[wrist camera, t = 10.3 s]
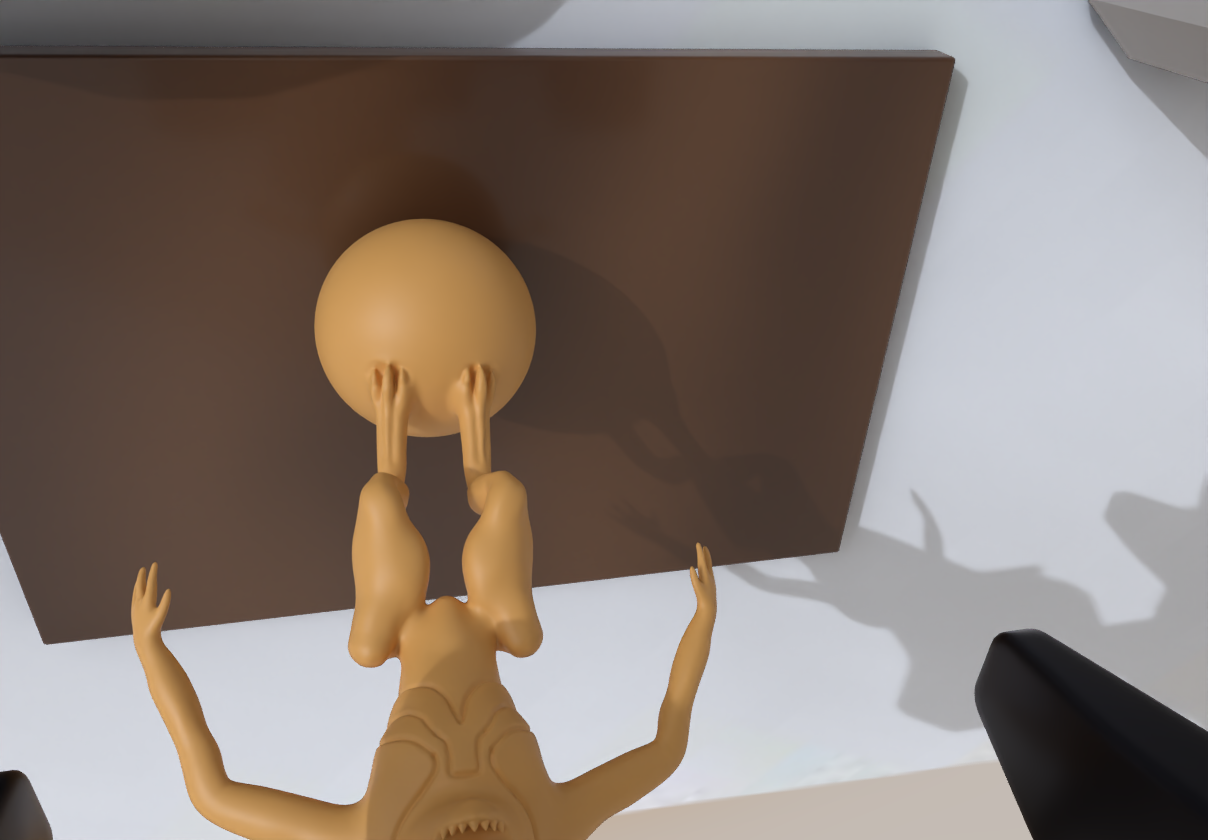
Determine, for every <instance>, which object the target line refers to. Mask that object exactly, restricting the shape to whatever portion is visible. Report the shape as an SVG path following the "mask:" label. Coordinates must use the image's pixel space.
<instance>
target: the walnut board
mask: <svg viewBox="0 0 1208 840" xmlns="http://www.w3.org/2000/svg"><path fill="white" fill-rule="evenodd" d="M954 64H955V58H954V57H952V56H949V55H947V54H944V53H942V52H939V51H937V50H809V49H598V48H387V47H176V46H0V534H1V537H2V539H3V542H4V544H5V547H6V549H7V552H8V554H9V557H10V560H11V562H12V565H13V567H14V570H15V572H16V575H17V577H18V580H19V582H20V585H21V588H22V590H23V593H24V595H25V598H26V600H27V603H28V605H29V608H30V610H31V613H32V616H33V618H34V621H35V623H36V626H37V628H38V631H39V633H40V636H41V638H42V641H43V643H44V644H47V645H48V644H56V643H65V642H73V641H82V640H90V639H99V638H107V637H116V636H124V635H133V627H132V619H131V607H132V597H133V591H134V586H135V583H136V581H137V576H138V573H139V571H140V569H141V568H142V567H145V568H146V587H147V581H148V576H149V572H150V569H151V566H152V564H153V563H154V562H156V563H157V564H158V570H157V602H156V607H158V606H159V604H160V602H161V600H162V597H163V595H164V593H165V591H166V590H167V589H170V591H171V601H170V605H169V609H168V612H167V615H166V617H165V620H164V622H163V625H162V627H161V631H167V630H176V629H184V628H193V627H201V626H210V625H218V624H227V623H235V622H244V621H252V620H261V619H269V618H278V617H286V616H295V615H304V614H312V613H321V612H329V611H338V610H346V609H355V602H356V589H355V580H354V574H353V565H352V542H353V535H354V530H355V525H356V519H357V513H358V507H359V499H360V494H361V491H362V489H363V487H364V486H365V485H366V483H367V482H368V481H369V480H370V479H371V478H372V476H373V475H375V474H376V473H378V467H377V427H376V425H375V424H373V423H372V422H370V421H368V420H367V419H365V418H364V417H362V416H361V415H359V414H358V413H357V412H355V411H354V410H353V409H352V408H351V407H350V406H349V405H348V404H347V403H346V402H345V401H344V400H343V399H342V398H341V397H340V396H339V394H338V393H337V392H336V390H335V389H334V388H333V386H332V384H331V383H330V381H329V379H328V378H327V376H326V374H325V372H324V369H323V367H322V364H321V362H320V359H319V355H318V351H317V347H316V341H315V329H314V323H315V311H316V305H317V301H318V297H319V293H320V290H321V288H322V285H323V283H324V281H325V279H326V277H327V275H328V273H329V271H330V270H331V268H332V267H333V265H334V264H335V262H336V261H337V260H338V258H339V257H340V256H341V255H342V254H343V253H344V252H345V251H346V250H347V249H348V248H349V247H350V246H351V245H352V244H353V243H355V242H356V241H357V240H359V239H360V238H362V237H363V236H365V235H366V234H368V233H370V232H372V231H373V230H376V229H378V228H380V227H382V226H385V225H388V224H391V223H395V222H399V221H404V220H411V219H436V220H443V221H448V222H452V223H455V224H458V225H461V226H464V227H467V228H469V229H471V230H473V231H475V232H477V233H479V234H481V235H482V236H484V237H485V238H487V239H488V240H490V241H491V242H492V243H494V244H495V245H496V246H497V247H498V248H500V249H501V250H502V251H503V252H504V253H505V254H506V255H507V257H508V258H509V259H510V260H511V261H512V263H513V264H514V265H515V267H516V268H517V269H518V271H519V273H520V274H521V276H522V278H523V280H524V282H525V284H526V286H527V288H528V291H529V293H530V296H531V300H532V303H533V307H534V313H535V321H536V339H535V347H534V352H533V357H532V360H531V363H530V366H529V369H528V371H527V374H526V376H525V378H524V380H523V382H522V384H521V385H520V387H519V388H518V390H517V391H516V393H515V394H514V395H513V397H512V398H511V399H510V400H509V401H508V402H507V404H506V405H505V406H504V407H502V408H501V409H500V410H499V411H498V412H497V413H496V414H494V415H493V416H492V417H490V442H491V473H493V472H496V471H507V472H509V473H510V474H512V475H513V476H514V477H515V478H516V479H518V480H519V481H520V482H521V483H522V484H523V486H524V487H525V490H526V493H527V508H528V516H529V521H530V526H531V531H532V538H533V564H532V588H534V587H542V586H551V585H560V584H568V583H577V582H585V581H594V580H602V579H611V578H619V577H628V576H636V575H645V574H653V573H662V572H670V571H679V570H688V569H690V568H691V566H693V567H694V569H696V568H698V560H697V549H696V544H697V543H700V545H701V547H702V550H703V547H704V546H706V547H707V548H708V550H709V553H710V556H711V561H712V567H713V566H722V565H730V564H739V563H747V562H756V561H764V560H773V559H781V558H790V557H798V556H807V555H816V554H824V553H833V552H838V551H839V548H840V544H841V539H842V535H843V531H844V527H845V523H846V518H847V514H848V510H849V506H850V502H851V497H852V493H853V489H854V485H855V481H856V476H857V472H858V468H859V464H860V460H861V455H862V451H863V447H864V443H865V438H866V434H867V430H868V426H869V422H870V417H871V413H872V409H873V405H874V401H875V396H876V392H877V388H878V384H879V380H880V375H881V371H882V367H883V363H884V359H885V354H886V350H887V346H888V342H889V338H890V333H891V329H892V325H893V321H894V316H895V312H896V308H897V304H898V300H899V295H900V291H901V287H902V283H903V279H904V274H905V270H906V266H907V262H908V258H909V253H910V249H911V245H912V241H913V237H914V232H915V228H916V224H917V220H918V215H919V211H920V207H921V203H922V199H923V194H924V190H925V186H926V182H927V178H928V173H929V169H930V165H931V161H932V157H933V152H934V148H935V144H936V140H937V136H938V131H939V127H940V123H941V119H942V115H943V110H944V106H945V102H946V98H947V93H948V89H949V85H950V81H951V77H952V72H953V68H954ZM406 459H407V465H406V475H405V482H404V483H405V484H406V485H407V487H408V489H409V500H408V504H407V507H406V512H407V515H408V517H409V519H410V521H411V522H412V524H413V525H414V526H415V528H416V529H417V530H418V531H419V533H420V534H421V536H422V537H423V539H424V541H425V544H426V546H427V549H428V553H429V558H430V575H429V583H428V588H427V592H426V598H425V600H432V599H438V598H440V597H442V596H452V597H457V596H466V595H468V593H467V589H466V585H465V581H464V576H463V570H462V554H463V548H464V545H465V542H466V539H467V537H468V535H469V533H470V532H471V530H472V529H473V527H474V526H475V525H476V523H477V522H478V520H479V519H480V517H481V515H479V514H477V513H475V512H474V511H473V510H472V509H471V507H470V506H469V503H468V497H467V489H468V487H467V484H466V478H465V473H464V466H463V452H462V442H461V434H460V432H459V433H456V434H451V435H446V436H439V437H415V436H408V435H407V450H406Z"/></svg>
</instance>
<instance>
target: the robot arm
mask: <svg viewBox="0 0 1208 840" xmlns="http://www.w3.org/2000/svg"><path fill="white" fill-rule="evenodd" d="M975 702H976V707H977V710H978V713H979V715H980V717H981V720H982V722H983V724H984V727H985V729H986V731H987V734H988V736H989V738H990V741H991V743H992V745H993V748H994V750H995V752H996V755H997V757H998V759H999V762H1000V764H1001V766H1002V769H1003V771H1004V773H1005V776H1006V778H1007V780H1008V783H1009V785H1010V787H1011V790H1012V792H1013V794H1014V796H1015V799H1016V801H1017V804H1018V806H1019V808H1020V811H1021V813H1022V815H1023V818H1024V820H1025V822H1026V825H1027V827H1028V829H1029V831H1030V833H1031V836H1032V838H1033V840H1208V731H1206V730H1204V729H1203V728H1201V727H1199V726H1198V725H1196V724H1195V723H1193V722H1191V721H1190V720H1188V719H1186V718H1185V717H1183V716H1181V715H1180V714H1178V713H1176V712H1175V711H1173V710H1171V709H1170V708H1168V707H1167V706H1165V705H1163V704H1162V703H1160V702H1158V701H1157V700H1155V699H1153V698H1152V697H1150V696H1148V695H1147V694H1145V693H1143V692H1142V691H1140V690H1139V689H1137V688H1135V687H1134V686H1132V685H1130V684H1129V683H1127V682H1125V681H1124V680H1122V679H1120V678H1119V677H1117V676H1115V675H1114V674H1112V673H1111V672H1109V671H1107V670H1106V669H1104V668H1102V667H1101V666H1099V665H1097V664H1096V663H1094V662H1092V661H1091V660H1089V659H1087V658H1086V657H1084V656H1083V655H1081V654H1079V653H1078V652H1076V651H1074V650H1073V649H1071V648H1069V647H1068V646H1066V645H1064V644H1063V643H1061V642H1059V641H1058V640H1056V639H1055V638H1053V637H1051V636H1050V635H1048V634H1046V633H1044V632H1042V631H1040V630H1037V629H1023V630H1016V631H1009V632H1003V633H1000V634H999V635H997V636H996V637H995V638H994V639H993V641H992V643H991V646H990V648H989V651H988V653H987V656H986V659H985V661H984V664H983V666H982V669H981V671H980V674H979V677H978V679H977V682H976V685H975ZM0 840H53V835H52V830H51V827H50V824H49V822H48V820H47V818H46V815H45V813H44V811H43V809H42V807H41V805H40V803H39V800H38V798H37V796H36V794H35V792H34V790H33V787H32V785H31V783H30V781H29V779H28V778H27V776H26V775H25V774H23V773H22V772H20V771H18V770H10V771H3V772H0Z"/></svg>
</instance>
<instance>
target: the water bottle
mask: <svg viewBox="0 0 1208 840" xmlns="http://www.w3.org/2000/svg"><path fill="white" fill-rule="evenodd" d="M1088 1H1089V2H1090V3H1091V5H1092V6H1093V8H1094V9H1095V11H1096V12H1097V14H1098V15H1099V16H1100V18H1101V19H1102V21H1103V22H1104V24H1105V25H1106V27H1107V28H1108V29H1109V31H1110V32H1111V34H1112V35H1113V37H1114V38H1115V40H1116V41H1117V43H1118V44H1119V45H1120V47H1121V48H1122V50H1123V51H1124V53H1125V54H1126V56H1127V57H1128V58H1129V59H1132V60H1135V61H1139V62H1142V63H1145V64H1148V65H1151V66H1155V67H1158V68H1161V69H1164V70H1167V71H1171V72H1174V73H1177V74H1180V75H1183V76H1187V77H1190V78H1193V79H1196V80H1199V81H1203V82H1206V83H1208V0H1088Z"/></svg>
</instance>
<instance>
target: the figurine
mask: <svg viewBox="0 0 1208 840" xmlns="http://www.w3.org/2000/svg"><path fill="white" fill-rule="evenodd" d="M314 329H315V341H316V347H317V351H318V355H319V359H320V362H321V364H322V367H323V369H324V372H325V374H326V376H327V378H328V379H329V381H330V383H331V384H332V386H333V388H334V389H335V390H336V392H337V393H338V394H339V396H340V397H341V398H342V399H343V400H344V401H345V402H346V403H347V404H348V405H349V406H350V407H351V408H352V409H353V410H354V411H355V412H357V413H358V414H359V415H361V416H362V417H364V418H365V419H367V420H368V421H370V422H372V423H373V424H375V425H376V427H377V467H378V473H376V474H375V475H373V476H372V478H371V479H370V480H369V481H368V482H367V483H366V485H365V486H364V487H363V489H362V491H361V494H360V499H359V507H358V513H357V519H356V525H355V530H354V535H353V542H352V565H353V574H354V580H355V589H356V602H355V611H354V616H353V621H352V626H351V632H350V637H349V642H348V650H349V654H350V656H351V657H352V659H353V660H354V661H355V662H356V663H358V664H359V665H361V666H363V667H369V668H372V667H378V666H380V665H382V664H383V663H384V662H385V661H386V660H387V659H389V658H393V657H397V658H398V659H399V660H400V662H401V678H400V685H399V697H398V698H397V700H396V702H395V704H394V706H393V708H392V711H391V714H390V717H389V721H388V725H387V730H386V732H385V733H384V735H383V737H382V739H381V741H380V746H379V747H378V748H377V750H376V753H375V756H374V760H373V765H372V770H371V775H370V779H369V784H368V788H367V791H366V793H365V795H364V797H363V798H362V799H361V800H360V801H358V802H357V803H354V804H350V805H338V804H332V803H328V802H324V801H320V800H317V799H313V798H309V797H305V796H301V795H297V794H293V793H289V792H285V791H280V790H276V789H272V788H268V787H263V786H258V785H251V784H245V783H239V782H234V781H232V780H230V779H229V778H228V777H227V775H226V772H225V769H224V765H223V761H222V756H221V753H220V750H219V747H218V745H217V743H216V741H215V739H214V738H213V736H212V734H211V733H210V731H209V729H208V727H207V724H206V721H205V718H204V715H203V711H202V708H201V705H200V702H199V699H198V697H197V695H196V692H195V690H194V688H193V686H192V684H191V682H190V680H189V678H188V676H187V674H186V673H185V671H184V670H183V668H182V667H181V665H180V664H179V663H178V661H177V660H176V658H175V657H174V656H173V654H172V653H171V652H170V651H169V650H168V648H167V647H166V646H165V645H164V643H163V641H162V638H161V627H162V625H163V622H164V620H165V617H166V615H167V612H168V609H169V605H170V601H171V591H170V589H167V590H166V591H165V593H164V595H163V597H162V600H161V602H160V604H159V606H158V607H156V602H157V570H158V564H157V563H156V562H154V563H153V564H152V566H151V569H150V572H149V576H148V581H147V587H146V568H145V567H142V568H141V569H140V571H139V573H138V576H137V581H136V583H135V586H134V591H133V597H132V607H131V619H132V627H133V638H134V645H135V648H136V651H137V654H138V656H139V659H140V661H141V663H142V666H143V668H144V671H145V675H146V678H147V683H148V687H149V690H150V694H151V696H152V699H153V701H154V703H155V705H156V707H157V709H158V711H159V713H160V715H161V717H162V719H163V721H164V723H165V725H166V727H167V729H168V731H169V733H170V736H171V738H172V740H173V742H174V744H175V747H176V749H177V752H178V755H179V759H180V763H181V767H182V771H183V776H184V780H185V784H186V788H187V792H188V795H189V797H190V800H191V802H192V803H193V805H194V807H195V808H196V809H197V811H198V812H199V813H200V814H201V815H202V816H204V817H205V818H206V819H207V820H209V821H210V822H212V823H214V824H215V825H217V826H219V827H221V828H223V829H225V830H227V831H230V832H232V833H234V834H237V835H239V836H242V837H245V838H247V839H250V840H586V839H587V838H588V837H589V836H590V835H591V834H592V833H593V832H594V831H595V830H596V828H597V827H599V826H600V825H601V824H602V823H603V822H604V821H605V820H607V819H608V818H609V817H611V816H613V815H614V814H616V813H618V812H620V811H621V810H623V809H625V808H627V807H629V806H630V805H632V804H633V803H635V802H636V801H638V800H639V799H641V798H642V797H643V796H645V795H646V794H648V793H649V792H651V791H652V790H653V789H655V788H656V787H657V786H659V785H660V784H661V783H663V782H664V781H665V780H666V779H667V778H668V777H669V776H670V775H671V774H672V773H673V772H674V771H675V770H676V769H677V767H678V766H679V764H680V763H681V761H682V759H683V757H684V754H685V751H686V748H687V742H688V735H689V726H690V718H691V711H692V706H693V702H694V698H695V695H696V692H697V689H698V686H699V683H700V680H701V677H702V674H703V672H704V669H705V666H706V663H707V660H708V656H709V651H710V644H711V636H712V631H713V627H714V623H715V618H716V612H717V602H716V585H715V580H714V575H713V570H712V561H711V556H710V553H709V550H708V548H707V547H706V546H704V547H703V550H702V547H701V545H700V543H697V544H696V549H697V560H698V574H699V578H698V576H697V573H696V571H695V569H694V567H693V566H691V568H690V577H691V581H692V585H693V588H694V591H695V594H696V597H697V610H696V613H695V615H694V617H693V619H692V620H691V622H690V624H689V625H688V627H687V629H686V631H685V633H684V635H683V637H682V639H681V641H680V644H679V646H678V649H677V652H676V655H675V658H674V661H673V665H672V668H671V673H670V678H669V684H668V689H667V692H666V695H665V698H664V700H663V703H662V705H661V708H660V712H659V717H658V729H657V735H656V738H655V740H654V741H652V742H651V743H649V744H646V745H644V746H641V747H639V748H636V749H634V750H631V751H629V752H627V753H624V754H622V755H620V756H618V757H616V758H614V759H612V760H610V761H608V762H606V763H604V764H602V765H600V766H598V767H596V768H594V769H592V770H590V771H588V772H586V773H584V774H583V775H581V776H579V777H577V778H575V779H572V780H570V781H567V782H564V783H555V782H552V781H551V780H550V778H549V776H548V774H547V771H546V769H545V766H544V763H543V760H542V757H541V753H540V749H539V746H538V742H537V740H536V737H535V735H534V734H533V733H532V732H530V727H529V725H528V724H527V722H526V721H525V720H524V719H523V718H522V716H521V715H520V714H519V713H518V712H517V711H516V708H515V705H514V703H513V700H512V698H511V696H510V694H509V693H508V691H507V690H506V688H505V687H504V686H503V685H502V684H501V681H500V677H499V672H498V667H497V662H496V651H504V652H507V653H510V654H512V655H513V656H515V657H519V658H523V657H528V656H531V655H533V654H534V653H535V652H536V651H537V650H538V649H539V647H540V645H541V643H542V640H543V632H542V628H541V625H540V622H539V619H538V616H537V613H536V609H535V605H534V601H533V596H532V564H533V538H532V531H531V526H530V521H529V516H528V508H527V493H526V490H525V487H524V486H523V484H522V483H521V482H520V481H519V480H518V479H516V478H515V477H514V476H513V475H512V474H510V473H509V472H507V471H496V472H493V473H491V442H490V417H492V416H493V415H494V414H496V413H497V412H498V411H499V410H500V409H501V408H502V407H504V406H505V405H506V404H507V402H508V401H509V400H510V399H511V398H512V397H513V395H514V394H515V393H516V391H517V390H518V388H519V387H520V385H521V384H522V382H523V380H524V378H525V376H526V374H527V371H528V369H529V366H530V363H531V360H532V357H533V352H534V347H535V339H536V321H535V313H534V307H533V303H532V300H531V296H530V293H529V291H528V288H527V286H526V284H525V282H524V280H523V278H522V276H521V274H520V273H519V271H518V269H517V268H516V267H515V265H514V264H513V263H512V261H511V260H510V259H509V258H508V257H507V255H506V254H505V253H504V252H503V251H502V250H501V249H500V248H498V247H497V246H496V245H495V244H494V243H492V242H491V241H490V240H488V239H487V238H485V237H484V236H482V235H481V234H479V233H477V232H475V231H473V230H471V229H469V228H467V227H464V226H461V225H458V224H455V223H452V222H448V221H443V220H436V219H411V220H404V221H399V222H395V223H391V224H388V225H385V226H382V227H380V228H378V229H376V230H373V231H372V232H370V233H368V234H366V235H365V236H363V237H362V238H360V239H359V240H357V241H356V242H355V243H353V244H352V245H351V246H350V247H349V248H348V249H347V250H346V251H345V252H344V253H343V254H342V255H341V256H340V257H339V258H338V260H337V261H336V262H335V264H334V265H333V267H332V268H331V270H330V271H329V273H328V275H327V277H326V279H325V281H324V283H323V285H322V288H321V290H320V293H319V297H318V301H317V305H316V311H315V323H314ZM459 432H460V434H461V442H462V452H463V466H464V473H465V478H466V484H467V487H468V489H467V497H468V503H469V506H470V507H471V509H472V510H473V511H474V512H475V513H477V514H479V515H481V517H480V519H479V520H478V522H477V523H476V525H475V526H474V527H473V529H472V530H471V532H470V533H469V535H468V537H467V539H466V542H465V545H464V548H463V554H462V570H463V576H464V581H465V585H466V589H467V593H468V601H467V602H466V603H463V602H461V601H459V600H458V599H456V598H454V597H452V596H442V597H440V598H438V599H436V600H435V601H434V602H433V603H431V604H429V605H427V604H426V603H425V598H426V592H427V588H428V583H429V575H430V558H429V553H428V549H427V546H426V544H425V541H424V539H423V537H422V536H421V534H420V533H419V531H418V530H417V529H416V528H415V526H414V525H413V524H412V522H411V521H410V519H409V517H408V515H407V512H406V507H407V504H408V500H409V489H408V487H407V485H406V484H405V483H404V482H405V475H406V465H407V459H406V450H407V435H408V436H415V437H439V436H446V435H451V434H456V433H459Z"/></svg>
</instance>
